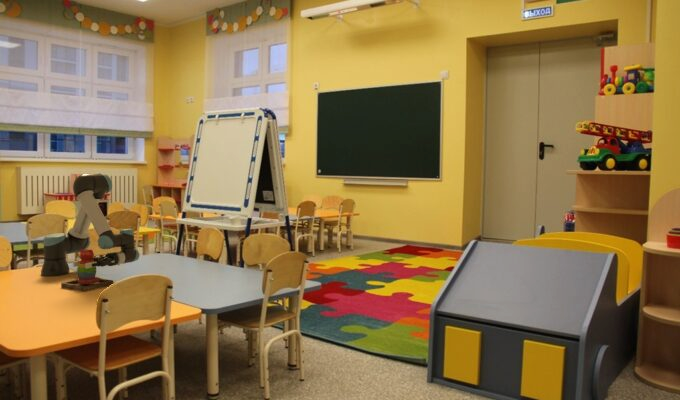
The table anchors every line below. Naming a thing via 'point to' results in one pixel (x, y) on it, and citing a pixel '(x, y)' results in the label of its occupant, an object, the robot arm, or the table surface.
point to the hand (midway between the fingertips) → (79, 265)
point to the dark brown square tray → (86, 285)
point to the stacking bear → (87, 274)
